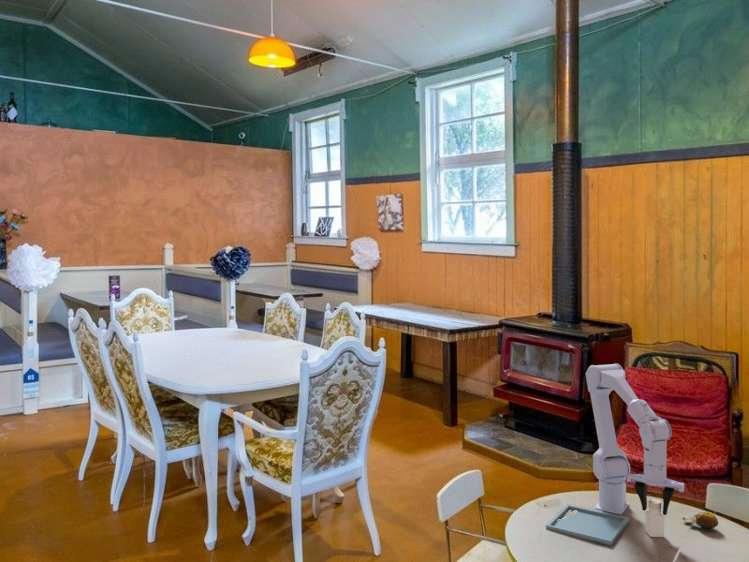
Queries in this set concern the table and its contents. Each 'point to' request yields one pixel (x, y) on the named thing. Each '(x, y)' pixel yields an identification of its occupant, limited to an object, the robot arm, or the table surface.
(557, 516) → the tray
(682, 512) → the table surface
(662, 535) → the pepper shaker
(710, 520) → the chicken drumstick
